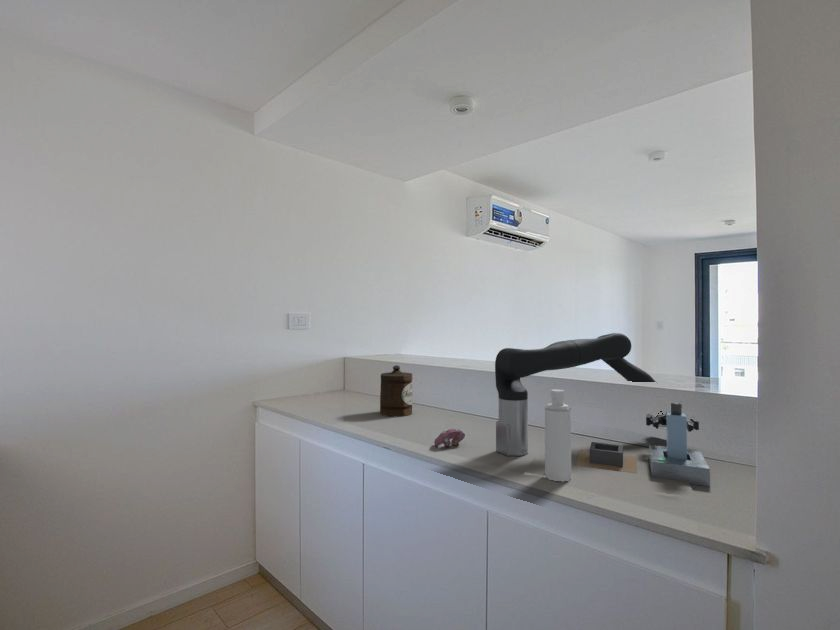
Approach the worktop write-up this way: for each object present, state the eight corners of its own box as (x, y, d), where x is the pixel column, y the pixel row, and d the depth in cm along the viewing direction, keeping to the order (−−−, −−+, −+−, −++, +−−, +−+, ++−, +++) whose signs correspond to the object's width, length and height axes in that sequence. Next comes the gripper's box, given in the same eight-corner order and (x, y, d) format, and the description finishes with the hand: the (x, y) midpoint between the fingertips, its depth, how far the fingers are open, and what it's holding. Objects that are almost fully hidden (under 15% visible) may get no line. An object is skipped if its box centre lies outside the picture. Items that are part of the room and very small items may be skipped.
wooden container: (411, 416, 192) (411, 367, 192) (378, 416, 192) (378, 367, 193) (412, 410, 207) (412, 364, 207) (381, 410, 207) (381, 363, 208)
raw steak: (438, 452, 144) (443, 436, 141) (432, 443, 148) (437, 427, 145) (463, 448, 149) (468, 432, 146) (456, 439, 152) (461, 423, 150)
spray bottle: (567, 484, 112) (567, 386, 112) (542, 479, 115) (541, 384, 116) (573, 476, 117) (573, 383, 118) (549, 471, 121) (548, 382, 121)
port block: (710, 486, 110) (709, 467, 110) (652, 478, 116) (651, 460, 116) (699, 465, 126) (699, 449, 126) (649, 459, 132) (649, 443, 132)
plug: (687, 475, 118) (686, 405, 118) (668, 473, 120) (667, 404, 120) (684, 470, 122) (684, 402, 122) (666, 468, 124) (666, 401, 124)
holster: (637, 475, 118) (637, 458, 118) (575, 466, 125) (575, 450, 125) (636, 458, 132) (636, 443, 133) (580, 452, 139) (580, 437, 139)
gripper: (644, 403, 148) (646, 412, 133) (693, 406, 142) (701, 416, 127) (645, 425, 148) (646, 436, 133) (694, 429, 142) (701, 442, 127)
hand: (673, 426), depth 130 cm, fingers open, 8 cm apart
